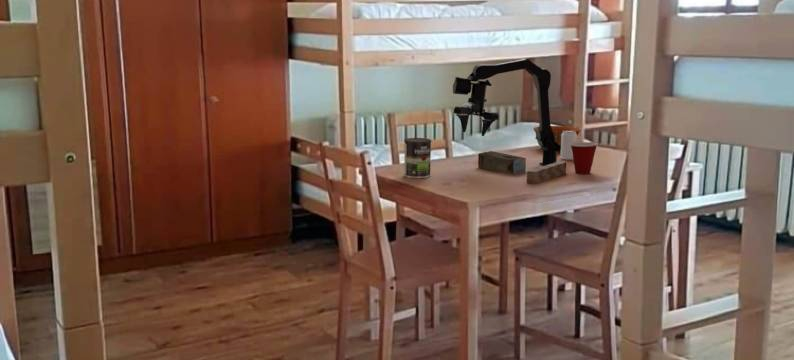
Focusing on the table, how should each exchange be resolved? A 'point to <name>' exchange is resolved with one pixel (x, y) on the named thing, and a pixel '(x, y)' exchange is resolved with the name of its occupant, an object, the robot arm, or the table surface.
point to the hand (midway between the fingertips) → (473, 134)
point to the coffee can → (417, 157)
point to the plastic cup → (583, 156)
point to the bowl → (560, 132)
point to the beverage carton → (501, 162)
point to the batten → (546, 172)
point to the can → (567, 144)
